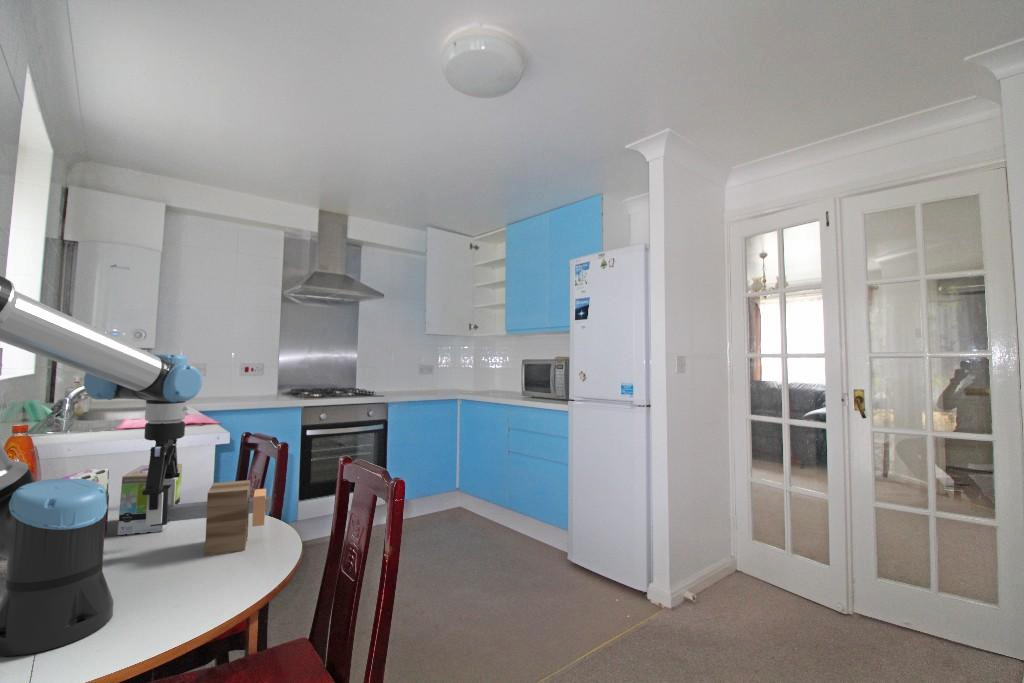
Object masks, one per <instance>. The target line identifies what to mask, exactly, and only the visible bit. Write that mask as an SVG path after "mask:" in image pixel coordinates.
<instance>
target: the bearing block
mask: <svg viewBox="0 0 1024 683" xmlns="http://www.w3.org/2000/svg"><path fill="white" fill-rule="evenodd" d="M250 492H251V480H250V479H247V480H235V481H234V480H233V481H222V482H220V481H219V482H213V483H212V485H211V486H210V488H209V490H208V491H207V497H206V499H207V500H206V502H207V518H205V519H206V520H205V521H206V522H205V524H206V525H205V543H204V544H205V545H204V556H205V557H206V556H214V555H213V554H215V555H219V554H220V555H221V553H222V554H228V553H227V552H230V553H235V552H234V551H238V552H241V551H240V550H245V551H246V548H245V547H247V543H246V542H248V538H249V518H250V517H249V514H250V513H249V514H247V509H248V498H251V497H250V494H251V493H250ZM247 537H248V538H247Z"/></svg>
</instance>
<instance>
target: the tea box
mask: <svg viewBox="0 0 1024 683" xmlns="http://www.w3.org/2000/svg"><path fill="white" fill-rule="evenodd" d="M177 466H178V472H177V473H180V477H175V478H176V486H175V504H181V503H180V502H181V490H182V489H181V486H182V474H183V471H182V470H183V464H182V463H177ZM148 469H149V464H145V465H141V466H139V467H137V468H136V469H133V470H132V471H130V472H128V473H126V474H124V475H123V476H122V478H121V489H120V501H119V513H118V523H117V524H118V525H117V535H118V536H122V535H124V536H125V534H127V535H136V534H135V533H140V534H147V532H151V533H158V532H157V531H161V532H163V531H164V530H165V529H166V528H167V527H168V526H169V525H170V524H171V522H172V521H170V522H168V523H167V525H159V526H150V525H146V509H147V495H143V491H145V488H146V481H147V475H148ZM164 479H166V478H164ZM153 488H154V487H153Z"/></svg>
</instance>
